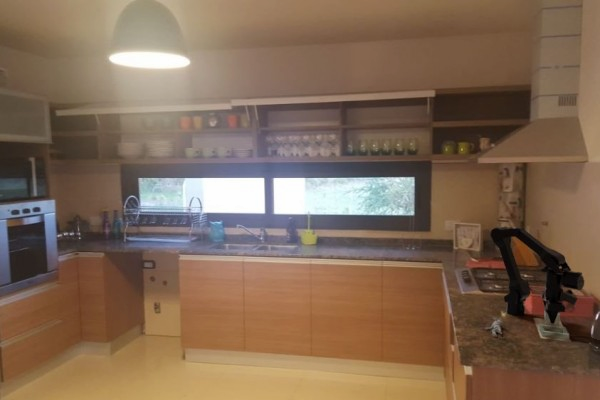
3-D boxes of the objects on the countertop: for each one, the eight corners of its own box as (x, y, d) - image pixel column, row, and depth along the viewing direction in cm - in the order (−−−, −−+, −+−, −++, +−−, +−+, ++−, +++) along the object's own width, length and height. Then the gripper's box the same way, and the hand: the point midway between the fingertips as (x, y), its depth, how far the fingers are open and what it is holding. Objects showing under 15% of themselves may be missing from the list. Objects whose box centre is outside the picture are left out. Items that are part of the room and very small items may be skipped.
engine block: (545, 324, 185) (545, 312, 185) (543, 321, 189) (544, 309, 188) (559, 326, 183) (559, 314, 183) (557, 323, 187) (558, 311, 187)
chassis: (540, 340, 172) (541, 332, 172) (533, 320, 193) (533, 313, 193) (571, 344, 169) (571, 336, 168) (560, 323, 190) (560, 316, 190)
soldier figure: (485, 338, 177) (481, 318, 188) (494, 345, 177) (489, 326, 188) (502, 327, 173) (496, 308, 184) (511, 335, 174) (505, 315, 185)
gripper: (581, 292, 173) (579, 332, 175) (571, 280, 190) (569, 316, 192) (548, 289, 177) (546, 328, 178) (541, 277, 194) (540, 313, 196)
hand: (551, 321), depth 186 cm, fingers closed on engine block, 4 cm apart
